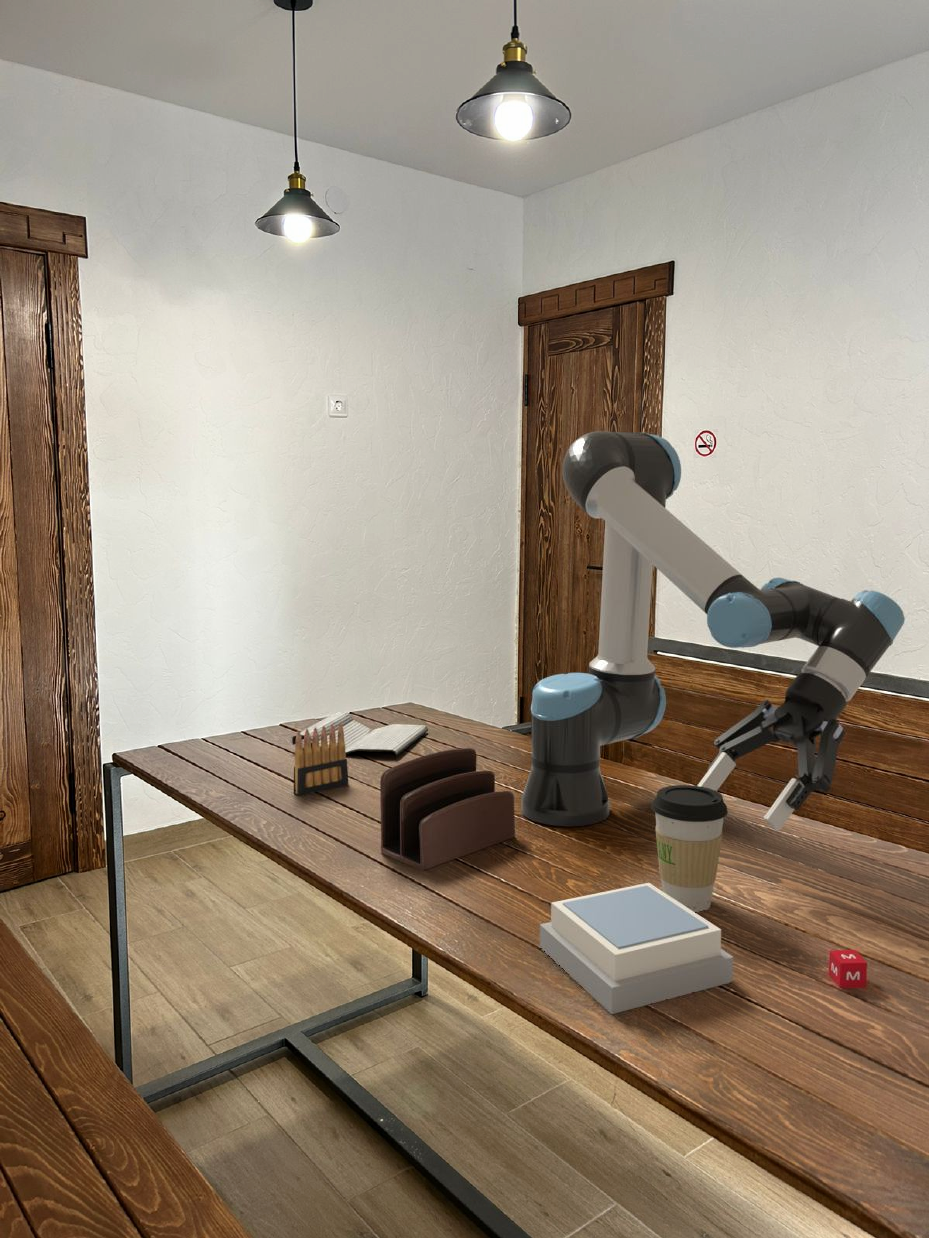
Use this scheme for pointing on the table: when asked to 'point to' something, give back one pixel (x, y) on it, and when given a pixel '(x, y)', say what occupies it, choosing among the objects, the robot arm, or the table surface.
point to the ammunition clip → (320, 762)
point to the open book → (375, 741)
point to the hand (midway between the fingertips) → (735, 808)
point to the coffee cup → (689, 842)
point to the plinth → (637, 984)
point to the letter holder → (442, 809)
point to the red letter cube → (847, 969)
